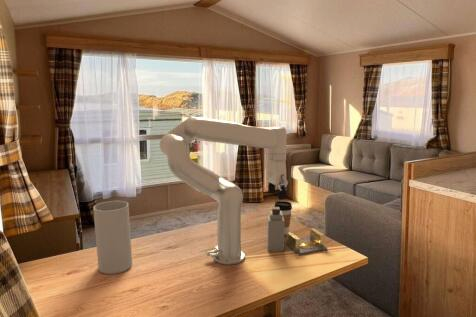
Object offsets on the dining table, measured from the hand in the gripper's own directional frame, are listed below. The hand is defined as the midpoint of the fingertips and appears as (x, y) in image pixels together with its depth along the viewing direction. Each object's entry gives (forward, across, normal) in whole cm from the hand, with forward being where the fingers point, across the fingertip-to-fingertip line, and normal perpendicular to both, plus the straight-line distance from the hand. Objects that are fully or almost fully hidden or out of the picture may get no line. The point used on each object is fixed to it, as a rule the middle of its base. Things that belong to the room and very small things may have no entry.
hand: (276, 196), depth 152 cm
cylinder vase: (+23, -7, -67) cm, 71 cm away
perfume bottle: (+24, 0, -1) cm, 24 cm away
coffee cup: (+24, -14, +10) cm, 29 cm away
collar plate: (+23, +4, +12) cm, 27 cm away
